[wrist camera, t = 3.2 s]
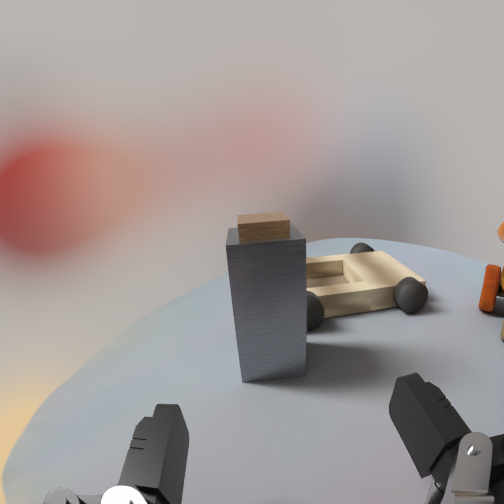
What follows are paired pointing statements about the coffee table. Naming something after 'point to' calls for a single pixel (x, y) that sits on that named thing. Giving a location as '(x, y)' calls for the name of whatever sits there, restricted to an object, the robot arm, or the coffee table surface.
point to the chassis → (360, 285)
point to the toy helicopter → (493, 284)
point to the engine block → (268, 296)
